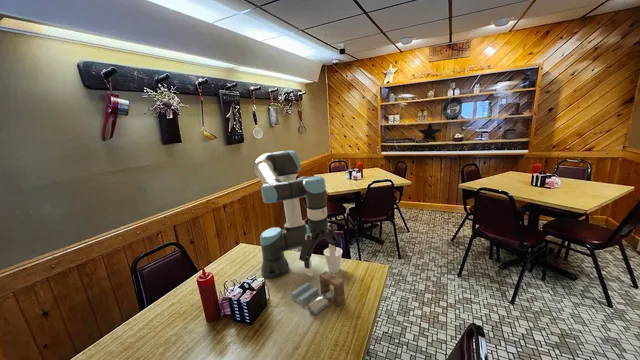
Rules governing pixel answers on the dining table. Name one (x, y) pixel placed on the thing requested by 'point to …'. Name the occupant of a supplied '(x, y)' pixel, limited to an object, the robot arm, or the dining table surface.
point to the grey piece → (321, 302)
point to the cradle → (304, 294)
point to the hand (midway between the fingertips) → (321, 266)
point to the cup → (333, 265)
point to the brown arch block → (336, 282)
